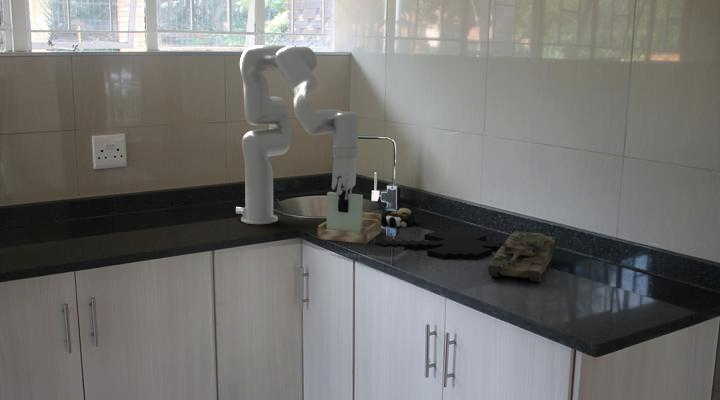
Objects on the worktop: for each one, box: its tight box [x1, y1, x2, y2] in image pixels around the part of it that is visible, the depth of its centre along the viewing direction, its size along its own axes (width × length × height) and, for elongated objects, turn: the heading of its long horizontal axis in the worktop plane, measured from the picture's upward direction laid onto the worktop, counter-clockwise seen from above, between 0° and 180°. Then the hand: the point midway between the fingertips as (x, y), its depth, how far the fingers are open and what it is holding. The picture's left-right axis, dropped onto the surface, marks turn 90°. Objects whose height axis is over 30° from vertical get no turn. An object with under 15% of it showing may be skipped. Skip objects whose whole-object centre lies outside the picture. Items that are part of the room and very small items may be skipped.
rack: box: [317, 211, 382, 244], centre depth 259 cm, size 16×16×7 cm
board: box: [326, 191, 364, 233], centre depth 253 cm, size 11×2×14 cm, turn 72°
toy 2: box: [487, 230, 557, 283], centre depth 224 cm, size 13×37×10 cm, turn 158°
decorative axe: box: [374, 230, 503, 261], centre depth 251 cm, size 32×2×30 cm
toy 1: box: [380, 207, 416, 228], centre depth 278 cm, size 12×8×15 cm
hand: (344, 210), depth 253 cm, fingers closed on board, 2 cm apart
